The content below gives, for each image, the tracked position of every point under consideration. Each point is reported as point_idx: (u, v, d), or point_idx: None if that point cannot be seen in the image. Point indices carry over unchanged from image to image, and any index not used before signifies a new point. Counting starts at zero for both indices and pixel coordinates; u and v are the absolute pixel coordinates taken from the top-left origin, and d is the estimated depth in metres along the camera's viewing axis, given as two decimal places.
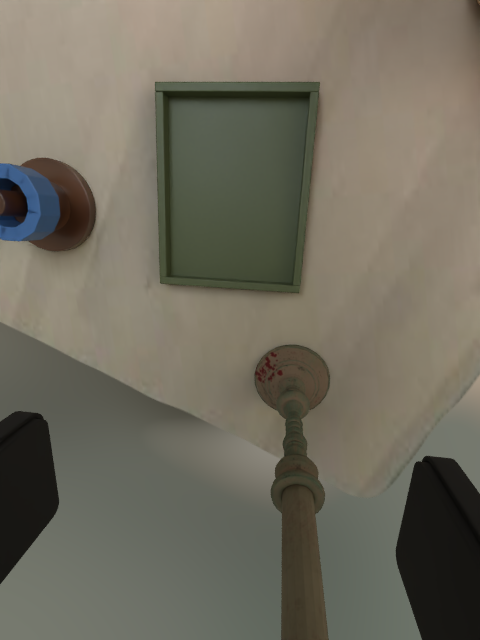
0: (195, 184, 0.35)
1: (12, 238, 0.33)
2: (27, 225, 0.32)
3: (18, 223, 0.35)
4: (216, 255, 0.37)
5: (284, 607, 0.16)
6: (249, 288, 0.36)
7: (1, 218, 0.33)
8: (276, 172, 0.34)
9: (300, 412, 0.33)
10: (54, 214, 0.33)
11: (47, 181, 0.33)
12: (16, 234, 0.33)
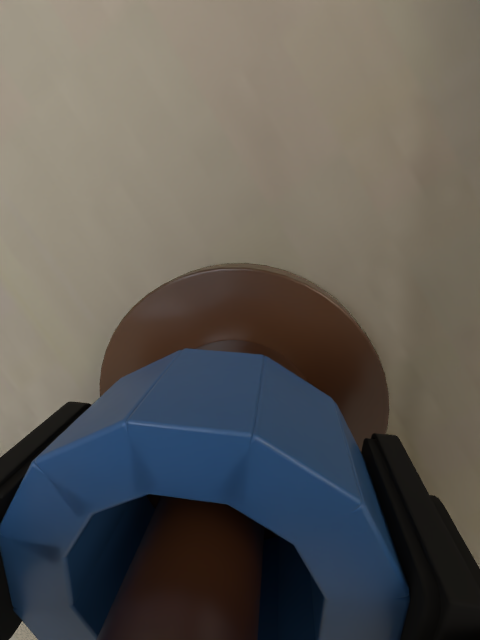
0: None
1: None
2: None
3: None
4: None
5: None
6: None
7: None
8: None
9: None
10: None
11: (275, 368, 0.07)
12: None
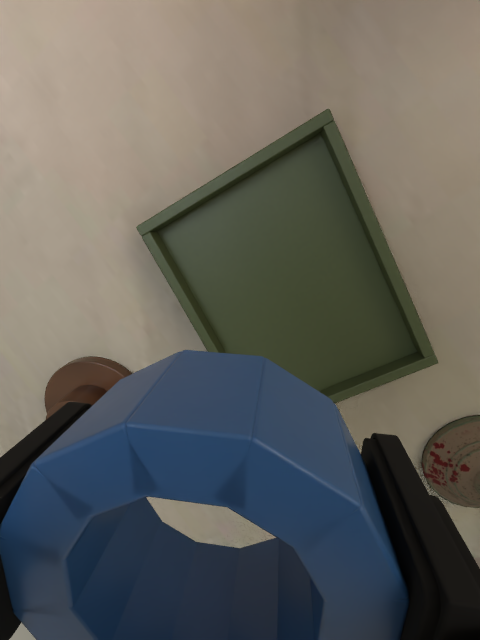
0: (236, 304, 0.27)
1: None
2: None
3: (216, 560, 0.09)
4: (302, 367, 0.28)
5: None
6: (368, 388, 0.26)
7: (170, 612, 0.07)
8: (326, 238, 0.25)
9: None
10: (375, 493, 0.07)
11: (275, 369, 0.07)
12: None
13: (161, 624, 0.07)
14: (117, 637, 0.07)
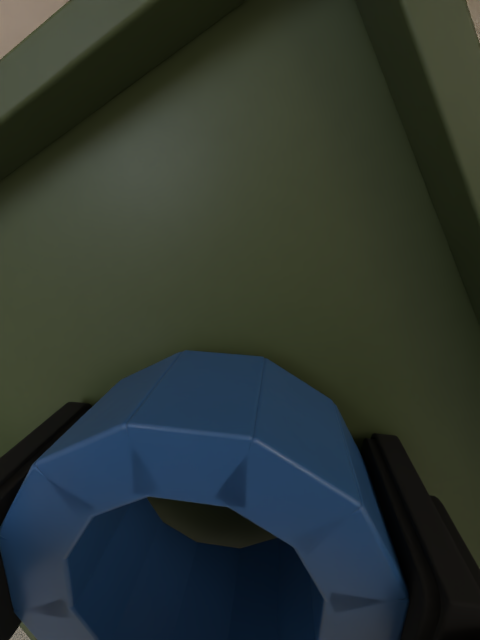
0: None
1: None
2: None
3: (217, 560, 0.09)
4: None
5: None
6: None
7: (170, 612, 0.07)
8: (343, 328, 0.08)
9: None
10: (375, 493, 0.07)
11: (275, 370, 0.07)
12: None
13: (162, 624, 0.07)
14: (118, 637, 0.07)
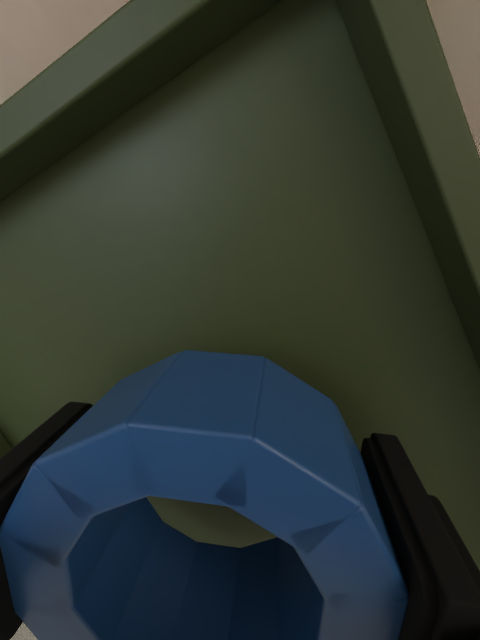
0: None
1: None
2: None
3: (217, 560, 0.09)
4: None
5: None
6: None
7: (171, 612, 0.07)
8: (336, 314, 0.09)
9: None
10: (375, 493, 0.07)
11: (275, 370, 0.07)
12: None
13: (162, 623, 0.07)
14: (118, 636, 0.07)
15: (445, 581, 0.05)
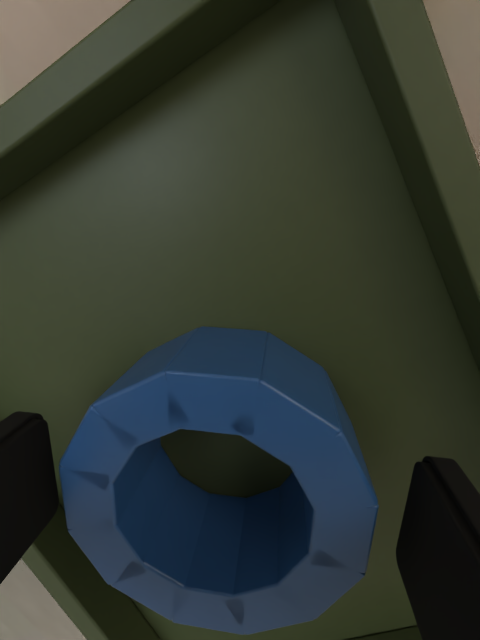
0: None
1: (281, 621, 0.08)
2: (329, 564, 0.07)
3: (226, 506, 0.10)
4: None
5: None
6: None
7: (190, 541, 0.09)
8: (335, 310, 0.09)
9: None
10: (357, 440, 0.09)
11: (276, 341, 0.09)
12: (293, 605, 0.08)
13: (183, 548, 0.09)
14: (150, 554, 0.08)
15: None
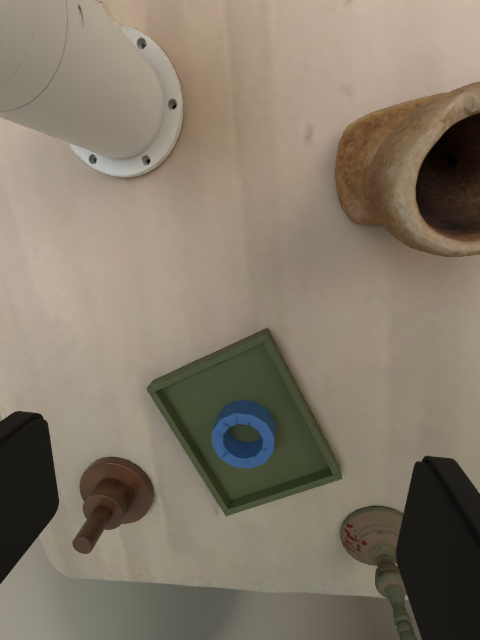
0: None
1: (257, 464, 0.38)
2: (266, 450, 0.37)
3: (244, 444, 0.40)
4: (257, 472, 0.41)
5: None
6: (299, 491, 0.40)
7: (236, 450, 0.39)
8: (270, 397, 0.38)
9: (402, 598, 0.35)
10: (274, 426, 0.38)
11: (256, 404, 0.38)
12: (259, 460, 0.37)
13: (235, 451, 0.38)
14: (228, 451, 0.38)
15: None
